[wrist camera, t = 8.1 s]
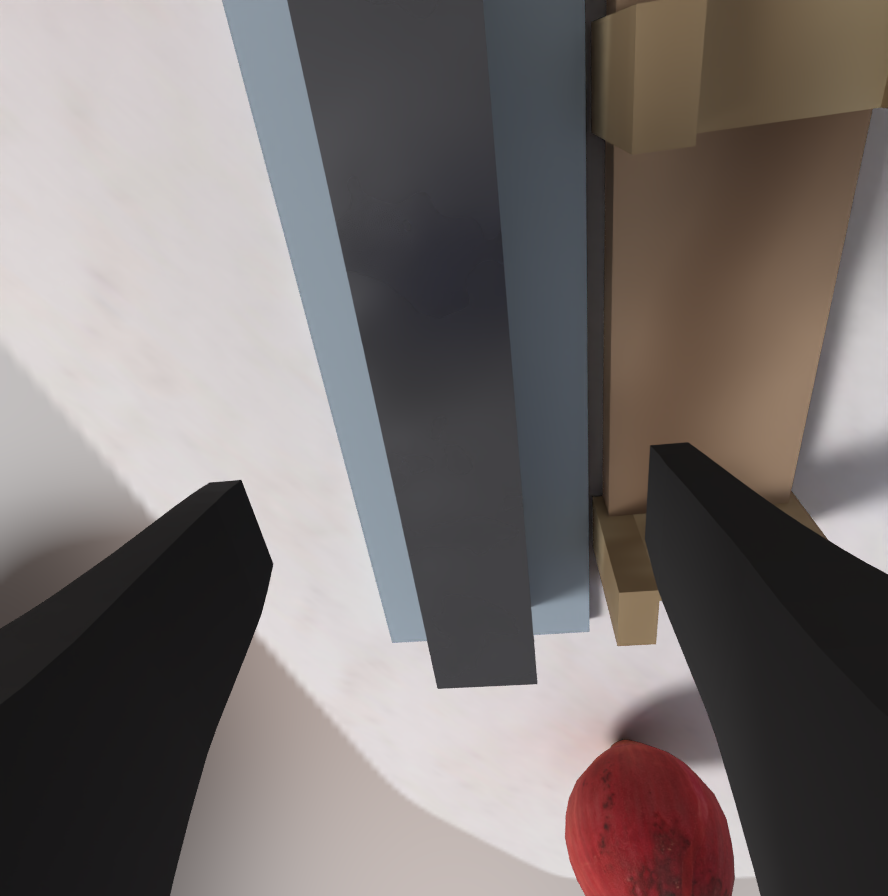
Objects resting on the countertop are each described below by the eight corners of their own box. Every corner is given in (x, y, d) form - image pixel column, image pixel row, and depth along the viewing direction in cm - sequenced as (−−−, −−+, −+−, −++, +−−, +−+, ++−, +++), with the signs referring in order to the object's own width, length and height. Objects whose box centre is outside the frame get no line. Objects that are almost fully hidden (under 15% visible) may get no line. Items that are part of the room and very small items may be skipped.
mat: (578, -224, 10) (583, -237, 10) (587, 620, 21) (589, 631, 21) (192, -145, 11) (181, -153, 11) (393, 631, 22) (392, 642, 22)
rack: (909, -132, 11) (1243, -286, 6) (766, 568, 20) (857, 723, 15) (590, -75, 11) (672, -175, 7) (592, 579, 20) (627, 731, 16)
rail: (472, -85, 11) (471, -132, 8) (529, 607, 20) (537, 683, 18) (313, -56, 11) (267, -93, 9) (441, 612, 21) (437, 688, 18)
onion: (563, 695, 24) (598, 946, 17) (711, 701, 23) (807, 957, 17) (548, 776, 27) (573, 1016, 20) (679, 782, 27) (749, 1026, 20)
